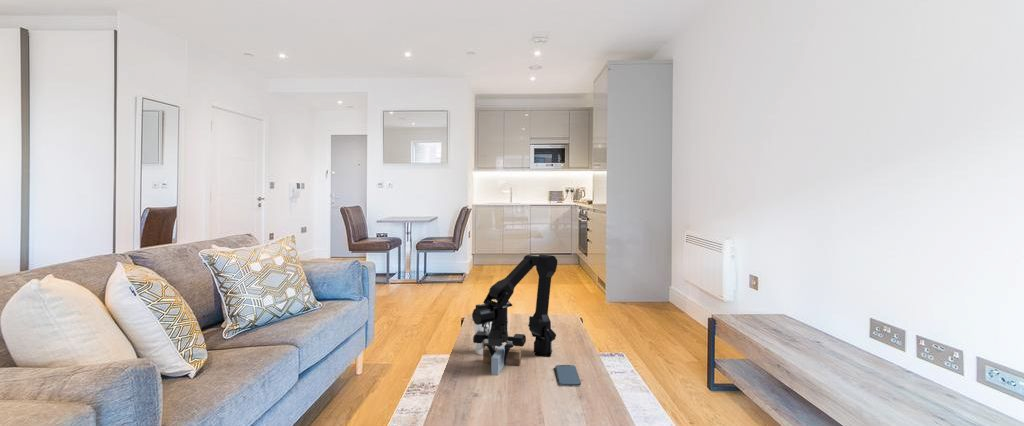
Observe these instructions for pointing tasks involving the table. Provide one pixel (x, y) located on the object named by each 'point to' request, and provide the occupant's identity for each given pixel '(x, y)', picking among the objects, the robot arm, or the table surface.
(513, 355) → the tan wooden plank
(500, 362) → the pale blue upright post
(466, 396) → the table surface
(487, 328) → the beer glass
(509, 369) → the table surface
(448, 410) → the table surface
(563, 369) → the smartphone
